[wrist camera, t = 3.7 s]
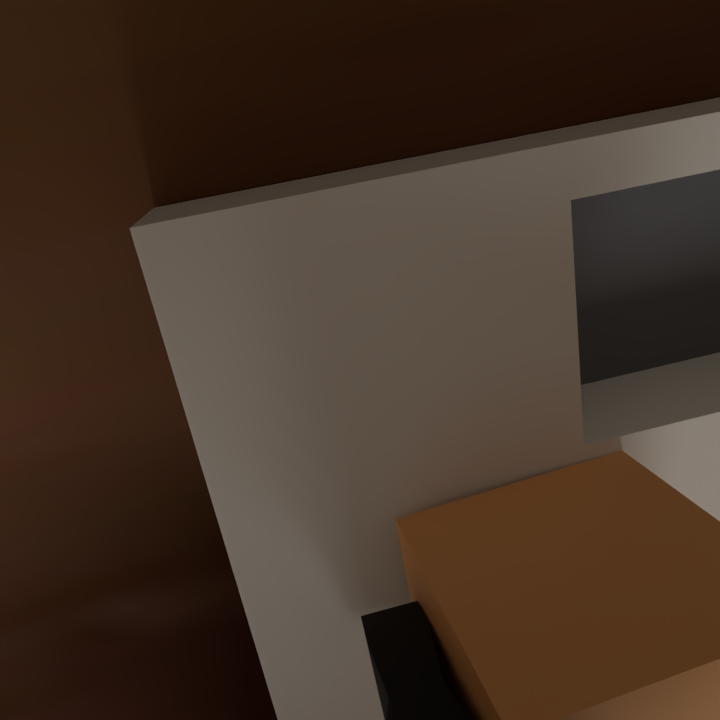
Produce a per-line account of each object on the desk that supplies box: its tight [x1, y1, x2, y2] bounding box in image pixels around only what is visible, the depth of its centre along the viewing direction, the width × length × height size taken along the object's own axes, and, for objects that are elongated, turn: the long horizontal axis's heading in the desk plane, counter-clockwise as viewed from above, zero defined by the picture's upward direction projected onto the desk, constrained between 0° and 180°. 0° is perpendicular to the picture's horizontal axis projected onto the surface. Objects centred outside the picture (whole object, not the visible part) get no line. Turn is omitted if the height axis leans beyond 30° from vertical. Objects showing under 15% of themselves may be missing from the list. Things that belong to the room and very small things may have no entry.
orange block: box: [395, 451, 720, 720], centre depth 12 cm, size 5×5×5 cm
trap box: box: [130, 97, 720, 720], centre depth 15 cm, size 18×22×5 cm
